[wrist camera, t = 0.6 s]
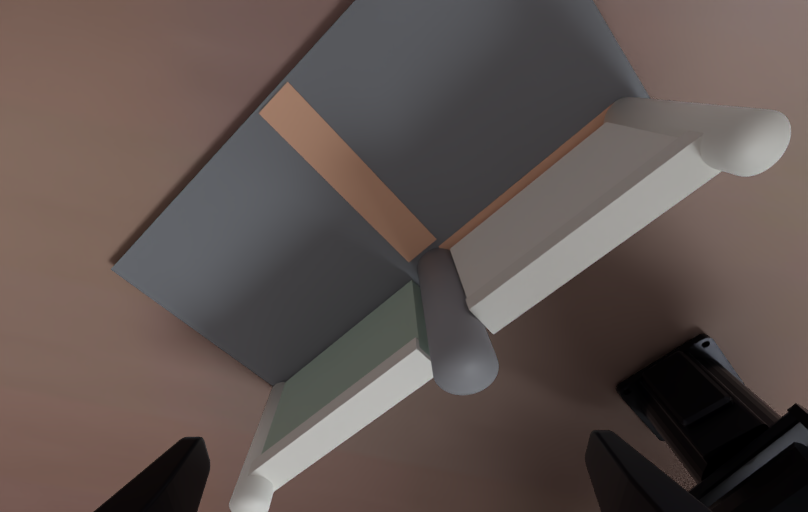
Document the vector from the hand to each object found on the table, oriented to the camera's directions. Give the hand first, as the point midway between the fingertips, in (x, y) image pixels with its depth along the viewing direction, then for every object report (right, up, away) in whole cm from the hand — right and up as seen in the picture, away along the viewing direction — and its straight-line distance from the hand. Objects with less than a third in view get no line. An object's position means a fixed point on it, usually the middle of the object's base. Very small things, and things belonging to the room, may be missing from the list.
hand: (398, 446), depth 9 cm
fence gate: (-3, -1, +14) cm, 15 cm away
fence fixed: (+6, +7, +11) cm, 15 cm away
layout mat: (-1, +7, +12) cm, 14 cm away
